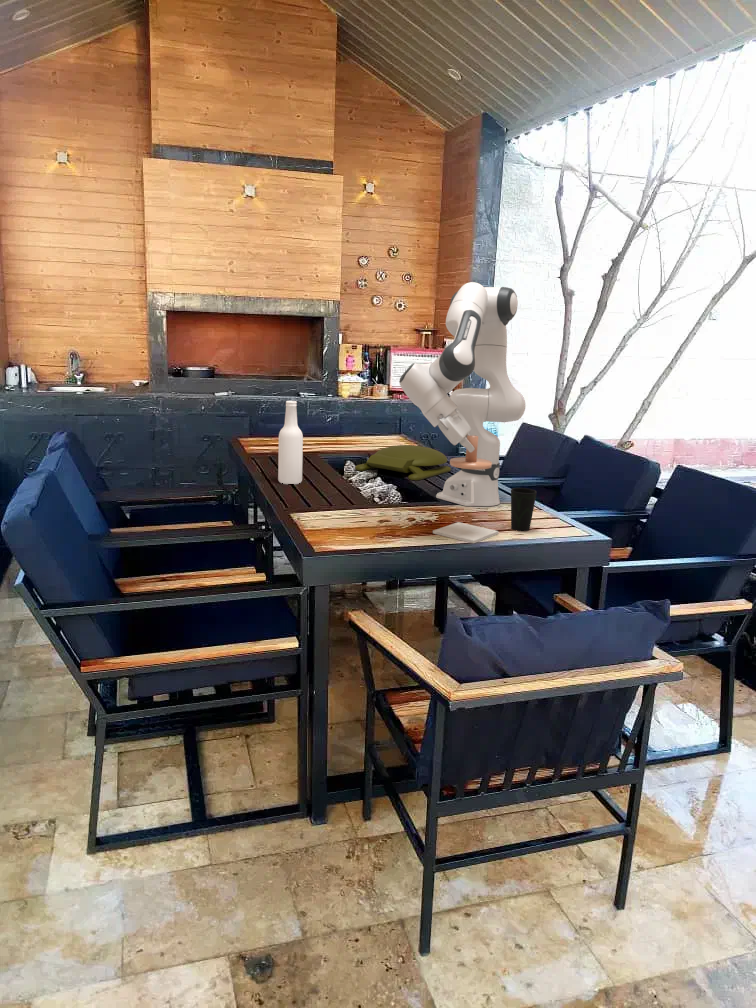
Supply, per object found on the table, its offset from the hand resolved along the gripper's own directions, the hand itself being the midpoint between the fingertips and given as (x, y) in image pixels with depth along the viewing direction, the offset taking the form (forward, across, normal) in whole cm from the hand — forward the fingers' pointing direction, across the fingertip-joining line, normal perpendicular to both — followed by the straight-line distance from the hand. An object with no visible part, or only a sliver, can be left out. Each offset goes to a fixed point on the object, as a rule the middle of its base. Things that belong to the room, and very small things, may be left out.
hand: (473, 449), depth 218 cm
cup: (+28, +12, +8) cm, 32 cm away
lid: (+3, 0, +4) cm, 5 cm away
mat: (+17, 0, +18) cm, 25 cm away
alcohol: (-32, +45, +68) cm, 88 cm away
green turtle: (-7, +88, +44) cm, 98 cm away
